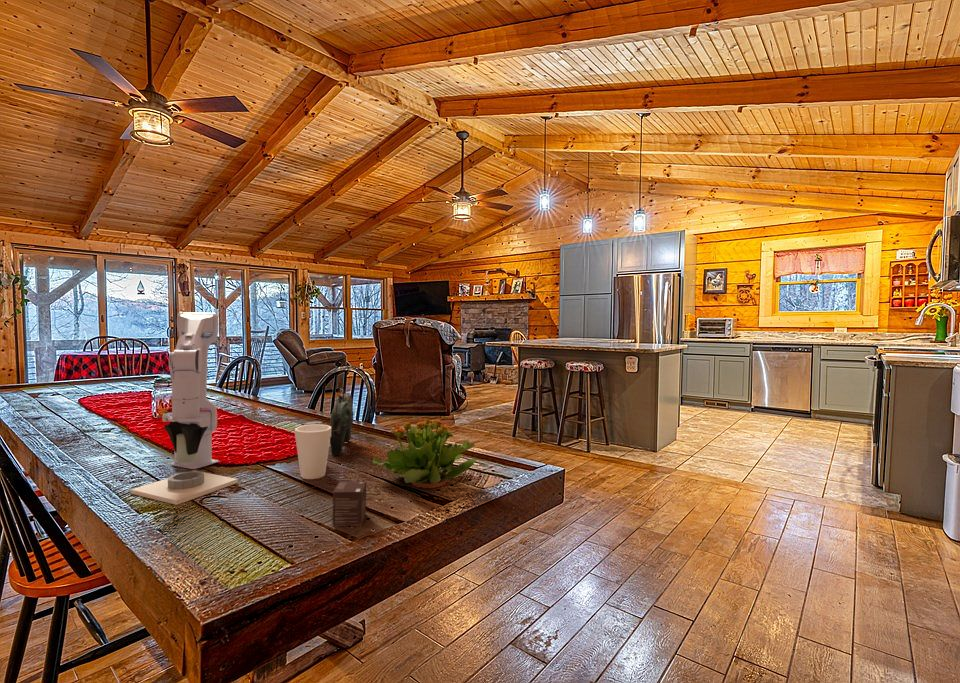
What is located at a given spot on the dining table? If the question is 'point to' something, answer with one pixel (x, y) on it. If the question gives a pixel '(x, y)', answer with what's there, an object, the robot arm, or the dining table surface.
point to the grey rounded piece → (183, 450)
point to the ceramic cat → (341, 422)
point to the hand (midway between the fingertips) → (186, 452)
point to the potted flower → (426, 455)
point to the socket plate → (183, 494)
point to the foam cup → (312, 449)
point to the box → (349, 503)
